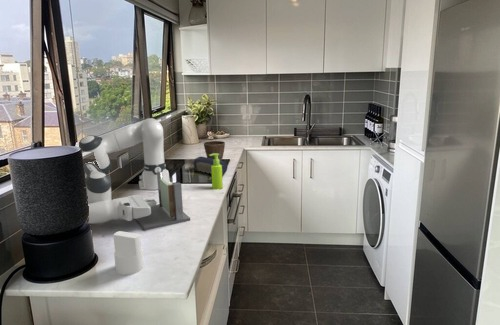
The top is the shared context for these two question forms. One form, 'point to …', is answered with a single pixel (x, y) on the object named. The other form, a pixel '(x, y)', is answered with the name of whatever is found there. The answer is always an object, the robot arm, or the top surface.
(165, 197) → the gate leaf
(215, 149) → the plant pot
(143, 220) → the gate frame
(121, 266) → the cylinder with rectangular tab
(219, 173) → the soap dispenser
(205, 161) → the portable speaker
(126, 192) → the top surface
